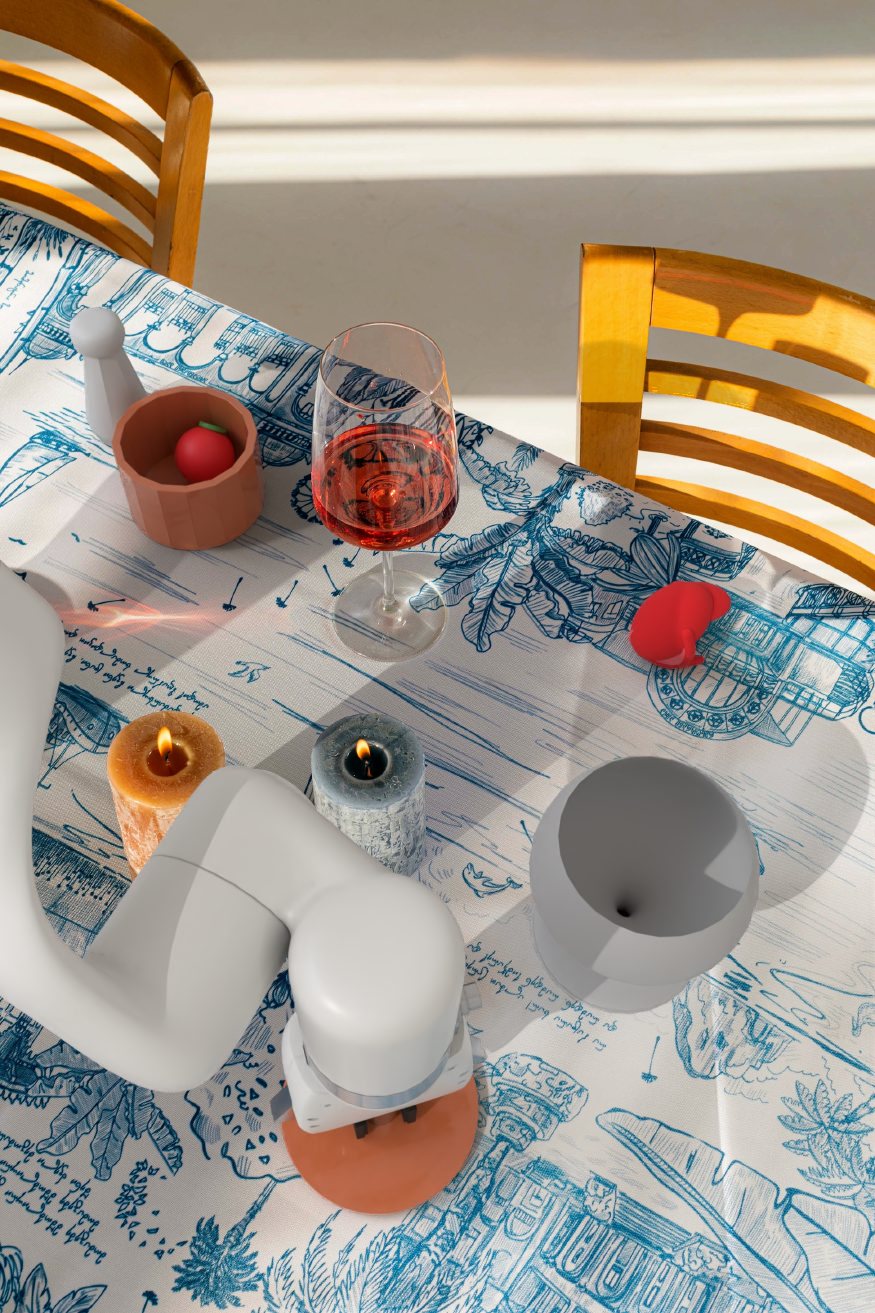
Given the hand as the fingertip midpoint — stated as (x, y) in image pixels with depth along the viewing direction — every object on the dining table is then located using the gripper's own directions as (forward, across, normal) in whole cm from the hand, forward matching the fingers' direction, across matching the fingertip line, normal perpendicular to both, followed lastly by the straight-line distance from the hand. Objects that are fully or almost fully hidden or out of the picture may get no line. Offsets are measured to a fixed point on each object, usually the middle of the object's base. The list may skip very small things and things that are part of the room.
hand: (379, 1105), depth 75 cm
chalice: (+2, -19, -7) cm, 20 cm away
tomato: (0, +2, -53) cm, 53 cm away
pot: (+2, +2, -53) cm, 53 cm away
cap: (+2, -32, -28) cm, 42 cm away
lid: (+1, 0, 0) cm, 1 cm away
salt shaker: (+2, +7, -62) cm, 62 cm away
